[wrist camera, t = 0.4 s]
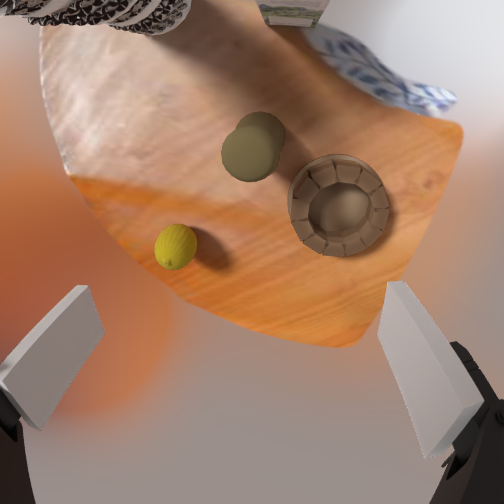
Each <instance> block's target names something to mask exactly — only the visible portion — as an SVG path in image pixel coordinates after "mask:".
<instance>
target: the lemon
mask: <svg viewBox="0 0 504 504" xmlns="http://www.w3.org/2000/svg"><path fill="white" fill-rule="evenodd" d="M196 250H197V238H196V235H195V233H194V232H193V231H192V229H191V228H189V227H188V226H186V225H183V224H174V225H170V226H168V227H167V228H165V229H164V230H163V231H162V232H161V233H160V235H159V236H158V238H157V241H156V243H155V257H156V259H157V261H158V262H159V264H160V265H161V266H163V267H164V268H166V269H169V270H179V269H181V268H183V267H185V266H186V265H187V264H189V263H190V261H191V260H192V259H193V257H194V256H195V253H196Z"/></svg>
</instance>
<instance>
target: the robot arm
mask: <svg viewBox="0 0 504 504" xmlns="http://www.w3.org/2000/svg"><path fill="white" fill-rule="evenodd" d="M104 334H105V331H104V328H103V326H102V323H101V321H100V318H99V315H98V312H97V309H96V306H95V303H94V301H93V298H92V294H91V291H90V288H89V286H84V285H77V286H76V287H75V288H74V289H72V290H71V291H70V292H69V293H68V294H67V295H66V296H65V297H64V298H63V299H62V300H61V301H60V302H59V303H58V304H57V305H56V306H55V307H54V308H53V309H52V310H51V311H50V312H49V313H48V314H47V315H46V316H45V317H44V318H43V319H42V320H41V321H40V322H39V323H38V324H37V325H36V326H35V327H34V328H33V329H32V330H31V331H30V332H29V333H28V334H27V336H26V337H25V338H24V339H23V340H22V341H21V342H20V343H19V344H18V345H17V346H16V347H15V348H14V349H13V351H11V353H10V354H9V355H8V356H7V357H6V358H5V359H4V360H3V362H2V363H1V364H0V504H36V503H35V499H34V495H33V491H32V487H31V482H30V478H29V472H28V466H27V460H26V454H25V446H24V438H23V427H22V424H21V422H20V421H19V418H20V417H21V416H22V417H23V419H24V420H25V421H26V422H27V423H28V425H29V426H31V427H33V428H35V429H37V430H39V431H41V430H42V429H43V427H44V426H45V424H46V422H47V421H48V419H49V417H50V415H51V414H52V412H53V411H54V409H55V408H56V406H57V404H58V403H59V401H60V399H61V398H62V396H63V395H64V393H65V392H66V390H67V389H68V387H69V385H70V384H71V382H72V381H73V379H74V378H75V376H76V375H77V373H78V372H79V370H80V369H81V367H82V366H83V364H84V363H85V361H86V360H87V358H88V357H89V356H90V354H91V353H92V351H93V350H94V348H95V347H96V346H97V344H98V343H99V341H100V340H101V338H102V337H103V335H104ZM377 336H378V338H379V341H380V343H381V345H382V348H383V350H384V352H385V354H386V357H387V359H388V362H389V364H390V366H391V369H392V371H393V374H394V376H395V378H396V381H397V384H398V386H399V389H400V391H401V394H402V396H403V399H404V402H405V404H406V407H407V410H408V412H409V415H410V418H411V420H412V423H413V426H414V429H415V432H416V435H417V438H418V441H419V444H420V447H421V450H422V453H423V456H424V459H427V458H430V457H433V456H436V455H439V454H442V453H444V452H445V451H446V450H447V449H448V448H449V447H450V445H451V444H453V447H454V449H455V451H454V452H453V453H452V454H451V455H450V457H448V458H447V460H446V461H445V462H444V463H443V465H442V466H441V467H445V466H446V464H448V465H447V467H446V470H445V472H444V474H443V477H442V479H441V481H440V483H439V485H438V487H437V489H436V491H435V493H434V495H433V498H432V499H431V501H430V503H429V504H504V400H503V399H501V400H499V399H498V397H497V396H496V394H495V392H494V391H493V389H492V387H491V386H490V384H489V382H488V381H487V379H486V378H485V376H484V374H483V373H482V372H481V370H480V369H479V367H478V365H477V364H476V363H475V361H473V358H472V356H471V355H470V353H469V352H468V351H467V349H466V348H464V347H463V346H462V345H460V344H459V343H458V342H457V341H455V342H451V343H449V342H448V341H447V339H446V338H445V336H444V335H443V333H442V332H441V331H440V329H439V327H438V326H437V325H436V323H435V322H434V320H433V319H432V318H431V316H430V315H429V314H428V312H427V311H426V309H425V308H424V307H423V305H422V304H421V303H420V301H419V300H418V299H417V297H416V296H415V295H414V293H413V292H412V291H411V289H410V288H409V287H408V286H407V284H406V283H405V282H404V281H394V282H388V284H387V289H386V295H385V300H384V305H383V310H382V315H381V320H380V324H379V329H378V333H377Z"/></svg>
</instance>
